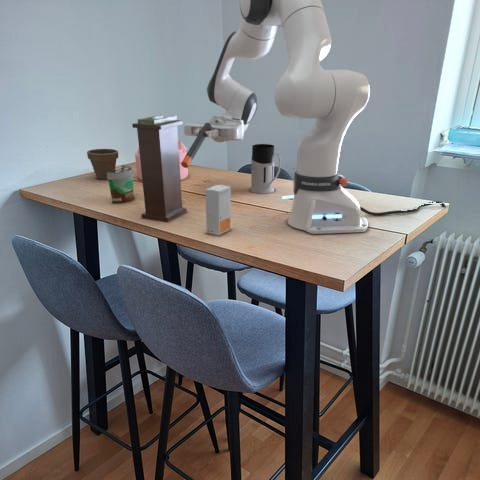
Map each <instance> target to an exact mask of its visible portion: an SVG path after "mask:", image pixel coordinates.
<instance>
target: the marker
mask: <svg viewBox="0 0 480 480" xmlns="http://www.w3.org/2000/svg"><path fill="white" fill-rule="evenodd" d="M204 123H205V124H204V126H203V128H202V129H201V131H200V133H199V134H198V136H196V138H195V139H194V141H193V143H192V144H191V146H190V147H189V148H188V150H187V154H186V156H185V157H184V159H183V161H182V162H181V165H182V166H183V167H184V168H188V169H189V166H190V164H191V163H192V161H193V160H194V158H195V156H196V155H197V153H198V151H199V149H200V147H201V146H202V144H203V143H204V140H206V138H207V137H206V136H205V135H206V134H205V132H206V131H210V129H211V124H209V122H204Z"/></svg>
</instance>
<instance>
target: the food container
mask: <svg viewBox="0 0 480 480" xmlns="http://www.w3.org/2000/svg"><path fill="white" fill-rule="evenodd" d="M134 176H135V171H134V169H133V166H130V165H127V164H121V168H119V169H115V171H114V172H113V173H109V172H107V180H108V186H109V191H110V197H111V202H112V204H125V203H130V202H132V201H134Z"/></svg>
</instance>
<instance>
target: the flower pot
mask: <svg viewBox="0 0 480 480" xmlns="http://www.w3.org/2000/svg"><path fill="white" fill-rule="evenodd" d="M86 156H87V159H88V160H90V163H91V166H92V170H93V172H94V174H95V177H96V179H98V180H101V181H102V180H103V181H106V180H107V172H109V173H113V172H114V171H115V170H116V167H117V160H118V158H119V150H118V149H113V148H94V149H90V150H87V151H86Z"/></svg>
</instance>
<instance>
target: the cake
mask: <svg viewBox="0 0 480 480" xmlns="http://www.w3.org/2000/svg"><path fill="white" fill-rule="evenodd" d="M178 145H179V162H180V178H181V181H182V180H186V179H187V178H188V176H189V171H188V170H189V167H188V168H184V167H183V166H182V165H181V162H182V161H183V159H184V157H185V156H186V154H187V152H188V151H189V148H187V146H186V145H185V144H184V143H183V142H182V141H181V139H178ZM134 156H135V157H134V158H135V167H136V176H137V179H138V180H140V181H142V172H141V162H140V152H139V148H138V149H137V151H136V152H135V154H134Z"/></svg>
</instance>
